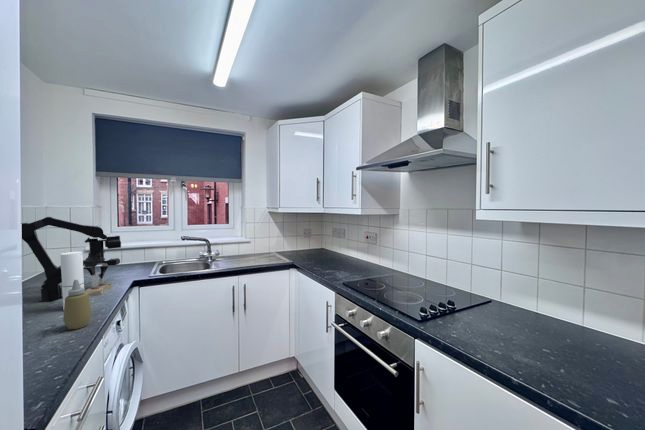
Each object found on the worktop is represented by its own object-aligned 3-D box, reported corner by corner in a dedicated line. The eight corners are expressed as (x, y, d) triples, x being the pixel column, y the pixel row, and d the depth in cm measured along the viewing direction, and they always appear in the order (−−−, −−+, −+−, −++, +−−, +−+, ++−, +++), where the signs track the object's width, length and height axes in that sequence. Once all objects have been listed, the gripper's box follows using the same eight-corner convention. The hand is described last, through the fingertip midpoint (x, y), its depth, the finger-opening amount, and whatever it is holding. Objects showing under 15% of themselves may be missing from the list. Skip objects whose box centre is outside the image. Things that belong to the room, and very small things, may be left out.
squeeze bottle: (97, 321, 106) (95, 276, 105) (80, 331, 98) (77, 283, 97) (77, 321, 106) (74, 277, 105) (57, 331, 97) (54, 283, 97)
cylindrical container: (83, 303, 125) (80, 250, 123) (86, 307, 120) (83, 252, 119) (62, 308, 119) (59, 253, 118) (64, 312, 115) (61, 255, 113)
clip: (98, 286, 138) (97, 275, 138) (91, 287, 138) (90, 275, 137) (104, 282, 146) (104, 271, 146) (98, 282, 145) (97, 271, 145)
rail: (100, 294, 137) (100, 289, 136) (83, 296, 134) (83, 291, 134) (112, 286, 150) (111, 282, 150) (96, 287, 147) (96, 283, 147)
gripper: (65, 253, 130) (67, 285, 131) (111, 251, 136) (112, 281, 137) (77, 250, 141) (79, 279, 141) (119, 248, 147) (121, 275, 148)
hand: (97, 278), depth 142 cm, fingers closed on clip, 3 cm apart
